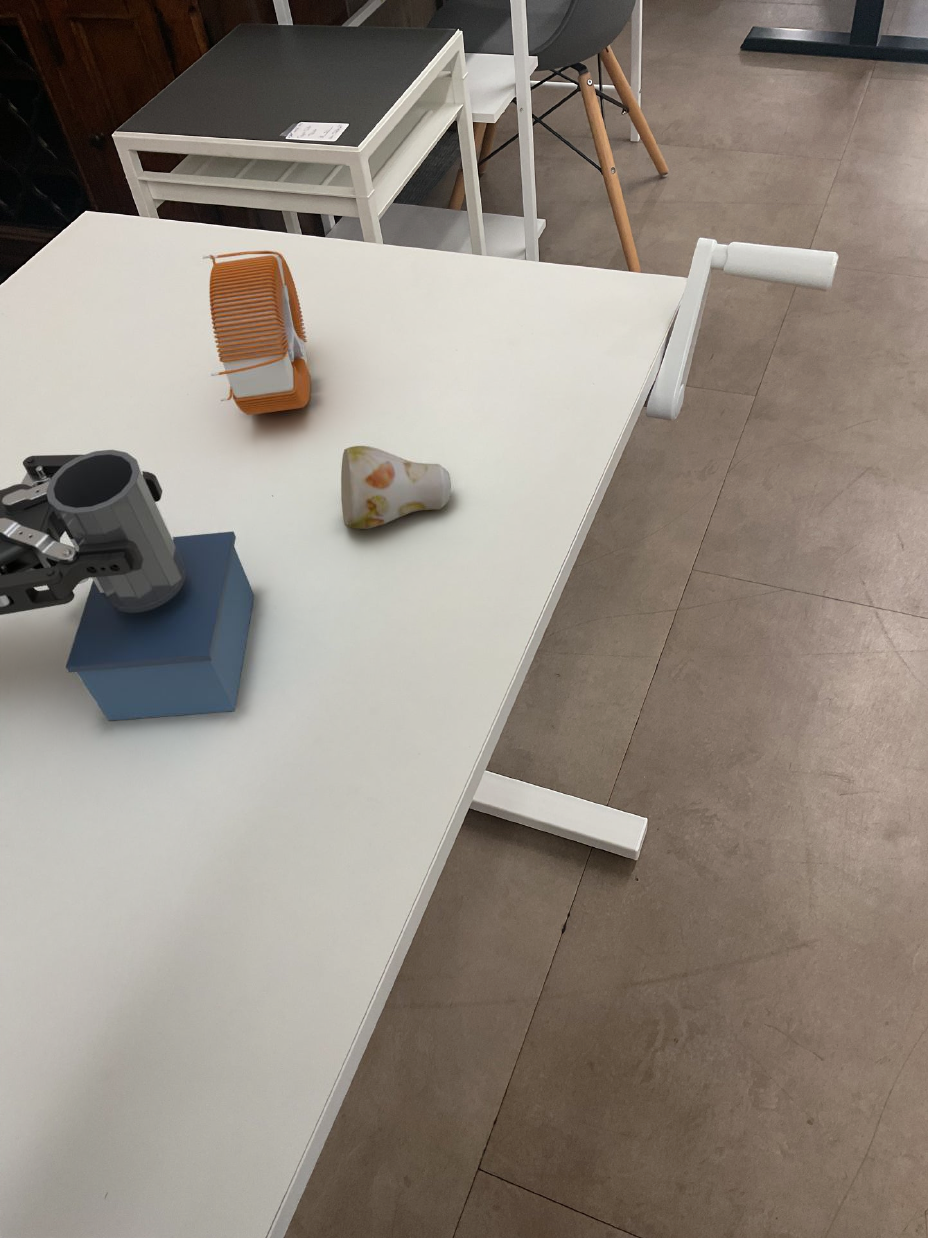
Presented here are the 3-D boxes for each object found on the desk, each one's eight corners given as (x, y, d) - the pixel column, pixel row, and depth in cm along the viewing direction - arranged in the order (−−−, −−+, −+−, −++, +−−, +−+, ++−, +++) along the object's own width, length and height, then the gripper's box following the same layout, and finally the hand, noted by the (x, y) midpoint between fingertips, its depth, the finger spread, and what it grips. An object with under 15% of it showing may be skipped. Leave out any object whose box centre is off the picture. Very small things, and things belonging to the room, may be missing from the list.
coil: (314, 352, 107) (278, 220, 96) (309, 441, 98) (269, 306, 86) (250, 361, 108) (207, 230, 97) (239, 451, 98) (190, 317, 87)
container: (238, 714, 77) (209, 655, 71) (103, 724, 78) (65, 667, 72) (258, 592, 85) (233, 530, 80) (137, 602, 86) (104, 543, 80)
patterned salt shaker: (470, 523, 88) (404, 473, 80) (380, 565, 92) (309, 521, 84) (459, 454, 91) (395, 399, 83) (372, 497, 95) (303, 448, 87)
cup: (178, 609, 72) (128, 507, 65) (95, 616, 73) (35, 516, 65) (193, 548, 77) (147, 445, 69) (113, 555, 77) (59, 454, 69)
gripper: (-150, 578, 64) (105, 555, 62) (-74, 434, 73) (150, 411, 72) (-88, 652, 69) (147, 633, 68) (-24, 509, 79) (184, 490, 78)
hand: (148, 519), depth 70 cm, fingers closed on cup, 6 cm apart
